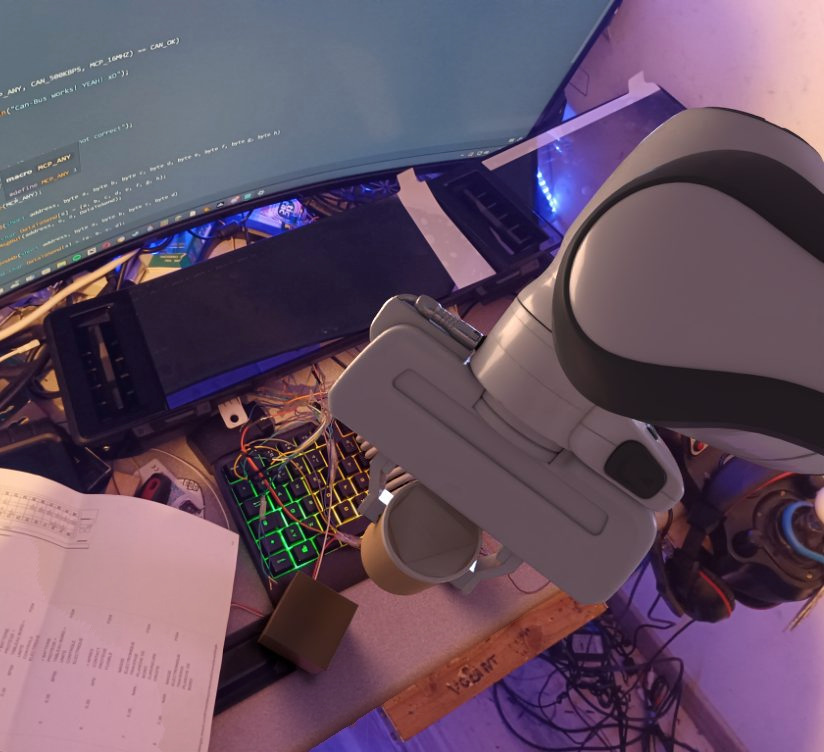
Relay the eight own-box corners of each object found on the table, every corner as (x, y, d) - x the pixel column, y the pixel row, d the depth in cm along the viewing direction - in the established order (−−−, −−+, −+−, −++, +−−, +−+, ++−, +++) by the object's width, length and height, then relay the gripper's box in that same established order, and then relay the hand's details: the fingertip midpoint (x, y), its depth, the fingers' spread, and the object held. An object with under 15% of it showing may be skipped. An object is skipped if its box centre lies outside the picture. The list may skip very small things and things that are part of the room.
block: (339, 617, 72) (359, 605, 62) (310, 673, 69) (326, 671, 59) (287, 586, 72) (298, 570, 62) (257, 642, 70) (264, 634, 60)
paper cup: (457, 535, 51) (497, 510, 44) (422, 615, 48) (459, 601, 41) (381, 493, 51) (409, 461, 44) (343, 569, 49) (365, 548, 42)
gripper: (389, 282, 39) (266, 465, 44) (712, 513, 37) (541, 682, 42) (413, 272, 45) (302, 436, 50) (693, 472, 42) (545, 624, 47)
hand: (412, 549), depth 46 cm, fingers closed on paper cup, 6 cm apart
